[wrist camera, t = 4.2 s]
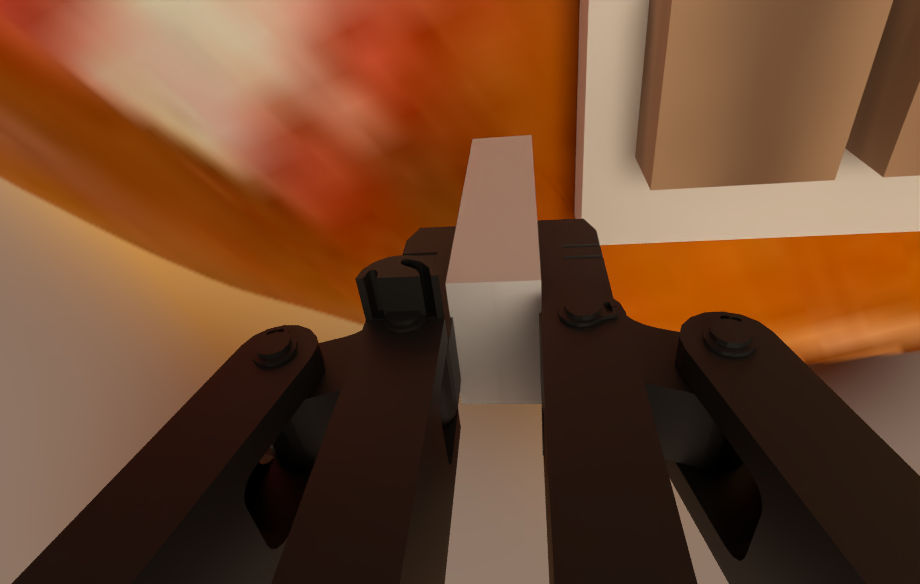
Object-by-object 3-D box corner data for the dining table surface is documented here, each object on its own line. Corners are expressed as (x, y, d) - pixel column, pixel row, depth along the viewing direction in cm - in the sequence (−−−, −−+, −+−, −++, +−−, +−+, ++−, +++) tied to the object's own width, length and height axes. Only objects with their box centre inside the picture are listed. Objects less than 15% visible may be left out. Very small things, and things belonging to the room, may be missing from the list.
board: (574, 213, 26) (580, 246, 24) (583, -157, 18) (594, -165, 16) (960, 194, 24) (1009, 227, 22) (1164, -234, 16) (1279, -257, 14)
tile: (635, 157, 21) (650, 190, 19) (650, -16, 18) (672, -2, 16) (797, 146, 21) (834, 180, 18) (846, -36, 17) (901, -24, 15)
